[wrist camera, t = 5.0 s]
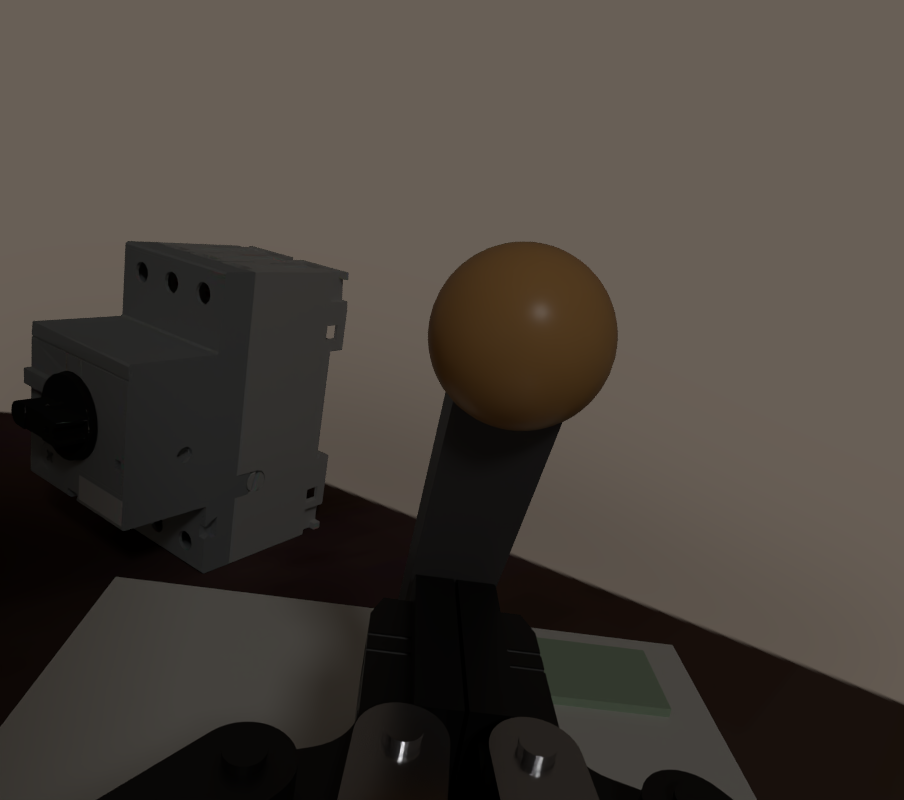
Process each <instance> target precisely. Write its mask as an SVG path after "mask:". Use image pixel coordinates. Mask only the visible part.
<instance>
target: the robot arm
mask: <svg viewBox="0 0 904 800" xmlns="http://www.w3.org/2000/svg"><path fill="white" fill-rule="evenodd" d="M97 800H733V799H732V798H731V797H729V796H728V795H727V794H725V793H724V792H723V791H721V790H720V789H719V788H717V787H716V786H715V785H713V784H712V783H710V782H708V781H707V780H705V779H703V778H701V777H699V776H697V775H694V774H691V773H688V772H685V771H680V770H670V769H669V770H661V771H657V772H655V773H653V774H651V775H650V776H649V777H648V778H646V780H645V782H644V783H643V786H642V790H640V789H637V788H634V787H632V786H629V785H626V784H623V783H621V782H618V781H615V780H613V779H610V778H608V777H605V776H603V775H601V774H599V773H597V772H595V771H593V770H592V769H590V768H589V767H587V765H586V763H585V760H584V757H583V754H582V752H581V750H580V748H579V746H578V745H577V744H576V742H575V741H574V740H573V739H572V738H571V737H570V736H569V735H568V734H567V733H566V732H565V731H563V730H562V729H560V728H559V725H558V721H557V717H556V713H555V709H554V705H553V701H552V697H551V693H550V689H549V685H548V681H547V677H546V673H544V665H543V661H542V657H541V656H540V649H539V645H538V641H537V637H536V633H535V632H534V631H533V630H532V628H531V627H530V626H529V625H528V624H527V623H526V621H525V620H524V619H523V618H522V617H521V615H517V614H509V613H501V612H500V607H499V602H498V596H497V591H496V586H495V585H494V584H488V583H480V582H473V581H465V580H456V581H455V583H454V579H449V578H441V577H433V576H426V575H418V574H415V576H414V580H413V585H412V591H411V596H410V601H405V600H398V599H390V598H383V599H382V600H381V602H380V603H379V604H378V605H377V606H376V607H375V608H374V609H373V611H372V612H371V613H370V619H369V626H368V632H367V638H366V645H365V651H364V657H363V663H362V670H361V676H360V682H359V690H358V698H357V707H356V715H355V723H354V724H353V725H352V727H351V728H350V729H349V730H348V731H347V732H346V733H345V734H343V735H342V736H340V737H339V738H337V739H335V740H333V741H331V742H328V743H325V744H322V745H318V746H313V747H307V748H301V749H296V747H295V744H294V743H293V741H292V740H291V739H290V738H289V737H288V736H287V735H286V734H285V733H284V732H282V731H281V730H279V729H278V728H275V727H273V726H271V725H268V724H264V723H259V722H236V723H231V724H227V725H224V726H221V727H218V728H216V729H214V730H212V731H210V732H209V733H207V734H205V735H204V736H202V737H200V738H199V739H197V740H195V741H194V742H192V743H190V744H189V745H187V746H185V747H184V748H182V749H180V750H179V751H177V752H175V753H174V754H172V755H170V756H169V757H167V758H165V759H164V760H162V761H160V762H159V763H157V764H155V765H153V766H152V767H150V768H148V769H147V770H145V771H143V772H142V773H140V774H138V775H137V776H135V777H133V778H132V779H130V780H128V781H127V782H125V783H123V784H122V785H120V786H118V787H117V788H115V789H113V790H112V791H110V792H108V793H107V794H105V795H103V796H102V797H100V798H98V799H97Z"/></svg>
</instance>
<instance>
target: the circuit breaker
mask: <svg viewBox="0 0 904 800" xmlns="http://www.w3.org/2000/svg"><path fill="white" fill-rule="evenodd" d="M124 272H125V273H124V294H123V314H122V315H121V316H113V317H97V318H80V319H63V320H47V321H33V326H32V335H33V336H32V367H26V368H24V383H26V384H27V385H29V386H31V388H32V389H31V399H25V400H18V401H14V402H13V404H12V416H13V419H14V421H15V423H16V424H17V425H19V426H21V427H22V428H24V429H28V430H30V431H31V471H33V472H34V473H36V474H37V475H39V476H40V477H42V478H43V479H45V480H46V481H48V482H49V483H51V484H52V485H54V486H55V487H57V488H58V489H60V490H61V491H63V492H64V493H66V494H67V495H69V496H71V497H73V496H78V497H77V499H76V500H77V501H78V502H80V503H81V504H83V505H84V506H86V507H87V508H89V509H90V510H92V511H93V512H95V513H96V514H98V515H99V516H101V517H102V518H104V519H105V520H107V521H108V522H110V523H112V524H113V525H115V526H116V527H118V528H119V529H121V530H122V531H126V530H129V529H133V528H134V529H135V530H137V531H138V532H140V533H141V534H143V535H145V536H146V537H148V538H149V539H151V540H152V541H154V542H155V543H157V544H158V545H160V546H162V547H163V548H165V549H166V550H168V551H169V552H171V553H172V554H174V555H175V556H177V557H179V558H180V559H182V560H183V561H185V562H186V563H188V564H189V565H191V566H192V567H194V568H196V569H197V570H199V571H200V572H202V573H206V572H208V571H211V570H213V569H216V568H218V567H221V566H223V565H226V564H228V563H231V562H234V561H236V560H239V559H241V558H244V557H246V556H249V555H251V554H254V553H256V552H259V551H261V550H264V549H266V548H269V547H271V546H274V545H276V544H279V543H281V542H284V541H286V540H289V539H291V538H294V537H296V536H299V535H301V534H302V532H303V529H305V528H308V527H310V528H311V529H313V530H314V529H316V528H319V521H317V520H316V519H315V514H316V507H317V505H319V504H322V499H323V491H324V484H325V475H326V468H327V461H328V455H327V454H325V453H323V452H320V451H318V444H319V436H320V428H321V420H322V412H323V403H324V396H325V388H326V380H327V372H328V364H329V356H330V351H337V350H342V344H343V337H344V329H345V321H346V313H347V301H344V300H342V285H343V279H344V280H348V272H344V271H340V270H337V269H333V268H329V267H326V266H322V265H319V264H315V263H311V262H307V261H304V260H293V257H289V256H286V255H282V254H278V253H275V252H271V251H268V250H264V249H260V248H257V247H253V246H250V247H241V246H232V245H206V244H183V243H160V242H135V241H128V242H127V243H126V249H125V271H124ZM331 325H335V333H334V338H332V339H327V338H326V333H327V326H331ZM313 487H315V492H314V497H311V498H308V499H306V496H307V489H310V488H313ZM160 520H162V522H161V521H160ZM183 531H186V532H187V533H188V534H189V536H190V538H191V540H190V539H189V538H187V537H186V536H184V535H183V534H182V532H183Z"/></svg>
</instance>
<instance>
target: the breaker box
mask: <svg viewBox="0 0 904 800" xmlns="http://www.w3.org/2000/svg"><path fill="white" fill-rule="evenodd" d="M373 609H374V608H366V607H358V606H350V605H342V604H333V603H325V602H317V601H309V600H301V599H293V598H285V597H277V596H268V595H260V594H252V593H244V592H236V591H228V590H220V589H212V588H204V587H195V586H187V585H179V584H171V583H163V582H155V581H147V580H139V579H130V578H122V577H115V578H114V580H113V581H112V582H111V584H110V585H109V586H108V587H107V589H106V590H105V591H104V593H103V594H102V595H101V597H100V598H99V599H98V600H97V602H96V603H95V604H94V606H93V607H92V608H91V610H90V611H89V612H88V613H87V615H86V616H85V617H84V619H83V620H82V621H81V623H80V624H79V625H78V626H77V628H76V629H75V630H74V632H73V633H72V634H71V636H70V637H69V638H68V639H67V641H66V642H65V643H64V645H63V646H62V647H61V649H60V650H59V651H58V652H57V654H56V655H55V656H54V658H53V659H52V660H51V662H50V663H49V664H48V665H47V667H46V668H45V669H44V671H43V672H42V673H41V675H40V676H39V677H38V679H37V680H36V681H35V682H34V684H33V685H32V686H31V688H30V689H29V690H28V692H27V693H26V694H25V695H24V697H23V698H22V699H21V701H20V702H19V703H18V705H17V706H16V707H15V708H14V710H13V711H12V712H11V714H10V715H9V716H8V718H7V719H6V720H5V721H4V723H3V724H2V725H1V727H0V800H97V799H98V798H100V797H102V796H103V795H105V794H107V793H108V792H110V791H112V790H113V789H115V788H117V787H118V786H120V785H122V784H123V783H125V782H127V781H128V780H130V779H132V778H133V777H135V776H137V775H138V774H140V773H142V772H143V771H145V770H147V769H148V768H150V767H152V766H153V765H155V764H157V763H159V762H160V761H162V760H164V759H165V758H167V757H169V756H170V755H172V754H174V753H175V752H177V751H179V750H180V749H182V748H184V747H185V746H187V745H189V744H190V743H192V742H194V741H195V740H197V739H199V738H200V737H202V736H204V735H205V734H207V733H209V732H210V731H212V730H214V729H216V728H218V727H221V726H224V725H227V724H231V723H236V722H259V723H264V724H268V725H271V726H273V727H275V728H278V729H279V730H281V731H282V732H284V733H285V734H286V735H287V736H288V737H289V738H290V739H291V740H292V741H293V743H294V744H295V747H296V749H301V748H307V747H313V746H318V745H322V744H325V743H328V742H331V741H333V740H335V739H337V738H339V737H340V736H342V735H343V734H345V733H346V732H347V731H348V730H349V729H350V728H351V727H352V725H353V724H354V723H355V715H356V707H357V698H358V690H359V682H360V676H361V670H362V663H363V657H364V651H365V645H366V638H367V632H368V626H369V619H370V613H371V612H372V611H373ZM532 630H533V631H534V632H535V633H536V637H537V641H538V645H539V649H540V656H541V657H542V661H543V665H544V673H546V677H547V681H548V685H549V689H550V693H551V697H552V701H553V705H554V709H555V713H556V717H557V721H558V725H559V728H560V729H562V730H563V731H565V732H566V733H567V734H568V735H569V736H570V737H571V738H572V739H573V740H574V741H575V742H576V744H577V745H578V746H579V748H580V750H581V752H582V754H583V757H584V760H585V763H586V765H587V767H589V768H590V769H592V770H593V771H595V772H597V773H599V774H601V775H603V776H605V777H608V778H610V779H613V780H615V781H618V782H621V783H623V784H626V785H629V786H632V787H634V788H637V789H640V790H642V786H643V783H644V782H645V780H646V778H648V777H649V776H650V775H651V774H653V773H655V772H657V771H661V770H669V769H670V770H680V771H685V772H688V773H691V774H694V775H697V776H699V777H701V778H703V779H705V780H707V781H708V782H710V783H712V784H713V785H715V786H716V787H717V788H719V789H720V790H721V791H723V792H724V793H725V794H727V795H728V796H729V797H731V798H732V799H733V800H757V799H756V797H755V796H754V794H753V792H752V790H751V788H750V786H749V785H748V783H747V781H746V779H745V777H744V775H743V774H742V772H741V770H740V768H739V766H738V764H737V763H736V761H735V759H734V757H733V755H732V753H731V752H730V750H729V748H728V746H727V744H726V742H725V741H724V739H723V737H722V735H721V733H720V731H719V730H718V728H717V726H716V724H715V722H714V720H713V719H712V717H711V715H710V713H709V711H708V709H707V708H706V706H705V704H704V702H703V700H702V698H701V697H700V695H699V693H698V691H697V689H696V687H695V686H694V684H693V682H692V680H691V678H690V676H689V675H688V673H687V671H686V669H685V667H684V665H683V664H682V662H681V660H680V658H679V656H678V654H677V653H676V651H675V649H674V647H673V645H666V644H658V643H650V642H642V641H634V640H626V639H618V638H609V637H601V636H593V635H585V634H577V633H569V632H561V631H553V630H544V629H536V628H532Z"/></svg>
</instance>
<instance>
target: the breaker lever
mask: <svg viewBox="0 0 904 800" xmlns="http://www.w3.org/2000/svg"><path fill="white" fill-rule="evenodd" d="M617 332H618V331H617V322H616V317H615V312H614V308H613V305H612V303H611V300H610V297H609V295H608V293H607V291H606V290H605V288H604V286H603V284H602V283H601V281H600V280H599V279H598V277H597V276H596V275H595V274H594V273H593V272H592V271H591V270H590V269H589V267H587V266H586V265H585V264H584V263H583V262H581V261H580V260H579V259H577V258H576V257H574V256H573V255H571V254H569V253H567V252H566V251H564V250H561V249H559V248H556V247H554V246H550V245H547V244H542V243H536V242H511V243H505V244H501V245H498V246H494V247H491V248H488V249H486V250H484V251H482V252H480V253H478V254H476V255H474V256H473V257H471V258H470V259H468V260H467V261H466V262H464V263H463V264H462V265H461V266H460V267H459V268H458V269H456V270H455V272H454V273H453V274H452V275H451V276H450V277H449V279H448V280H447V281H446V283H445V284H444V286H443V287H442V289H441V290H440V292H439V294H438V297H437V299H436V301H435V303H434V305H433V309H432V313H431V316H430V321H429V329H428V345H429V353H430V358H431V362H432V366H433V369H434V371H435V374H436V376H437V378H438V380H439V382H440V384H441V385H442V387H443V389H444V390H445V391H446V393H445V397H444V401H443V406H442V410H441V415H440V419H439V424H438V428H437V432H436V436H435V441H434V445H433V450H432V454H431V459H430V463H429V467H428V472H427V476H426V480H425V485H424V489H423V493H422V498H421V502H420V507H419V511H418V515H417V520H416V524H415V528H414V533H413V537H412V542H411V546H410V550H409V555H408V559H407V563H406V568H405V572H404V577H403V581H402V585H401V590H400V594H399V599H398V600H405V601H410V596H411V591H412V585H413V580H414V576H415V574H418V575H426V576H433V577H441V578H449V579H454V583H455V581H456V580H465V581H473V582H480V583H488V584H494V585H495V586H497V584H498V581H499V579H500V576H501V574H502V571H503V569H504V566H505V564H506V561H507V559H508V556H509V554H510V551H511V548H512V546H513V543H514V541H515V539H516V536H517V534H518V531H519V529H520V526H521V524H522V521H523V519H524V516H525V514H526V511H527V509H528V506H529V504H530V501H531V499H532V497H533V494H534V492H535V489H536V487H537V484H538V482H539V479H540V476H541V474H542V472H543V469H544V467H545V464H546V462H547V459H548V457H549V454H550V452H551V449H552V447H553V444H554V442H555V439H556V437H557V434H558V432H559V429H560V427H561V424H562V422H564V421H565V420H567V419H569V418H571V417H572V416H574V415H576V414H577V413H578V412H580V411H581V410H582V409H583V408H585V407H586V406H587V405H588V404H589V403H590V402H591V401H592V400H593V399H594V398H595V396H596V395H597V394H598V393H599V391H600V390H601V388H602V386H603V385H604V383H605V381H606V380H607V378H608V376H609V374H610V371H611V368H612V365H613V362H614V360H615V355H616V349H617V341H618V338H617V337H618V333H617Z"/></svg>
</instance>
